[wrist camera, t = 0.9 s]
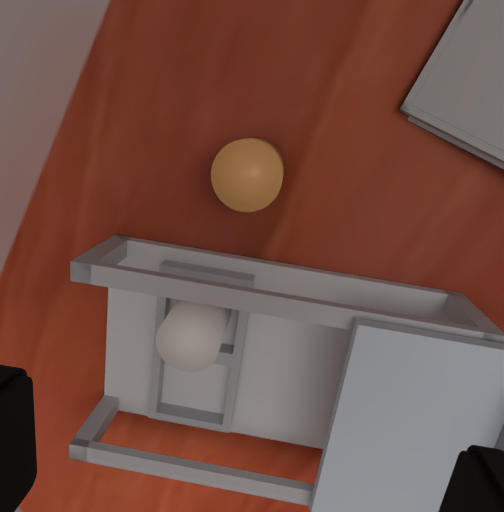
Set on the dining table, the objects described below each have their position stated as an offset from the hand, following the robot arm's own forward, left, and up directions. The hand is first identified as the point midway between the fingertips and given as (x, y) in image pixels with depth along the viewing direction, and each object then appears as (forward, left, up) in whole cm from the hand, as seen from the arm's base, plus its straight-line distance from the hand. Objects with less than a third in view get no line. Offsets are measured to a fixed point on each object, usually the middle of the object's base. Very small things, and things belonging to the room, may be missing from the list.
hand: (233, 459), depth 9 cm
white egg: (+6, -4, -19) cm, 20 cm away
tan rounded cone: (-4, -2, -20) cm, 20 cm away
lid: (+9, +10, -13) cm, 19 cm away
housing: (+9, +1, -19) cm, 21 cm away
